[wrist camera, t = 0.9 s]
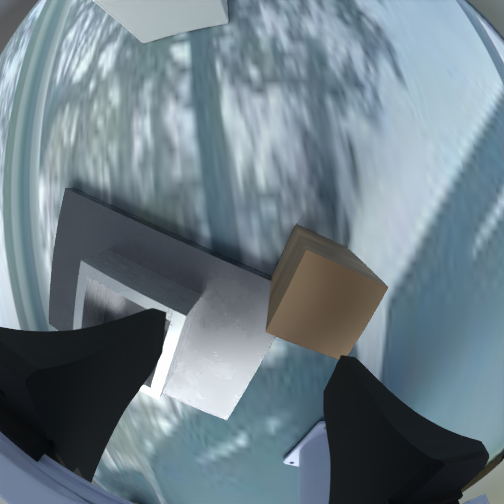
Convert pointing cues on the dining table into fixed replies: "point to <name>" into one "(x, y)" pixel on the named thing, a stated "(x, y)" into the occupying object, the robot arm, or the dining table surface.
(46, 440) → the robot arm
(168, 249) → the post socket base
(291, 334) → the walnut rail post
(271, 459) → the dining table surface
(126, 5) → the milk carton
